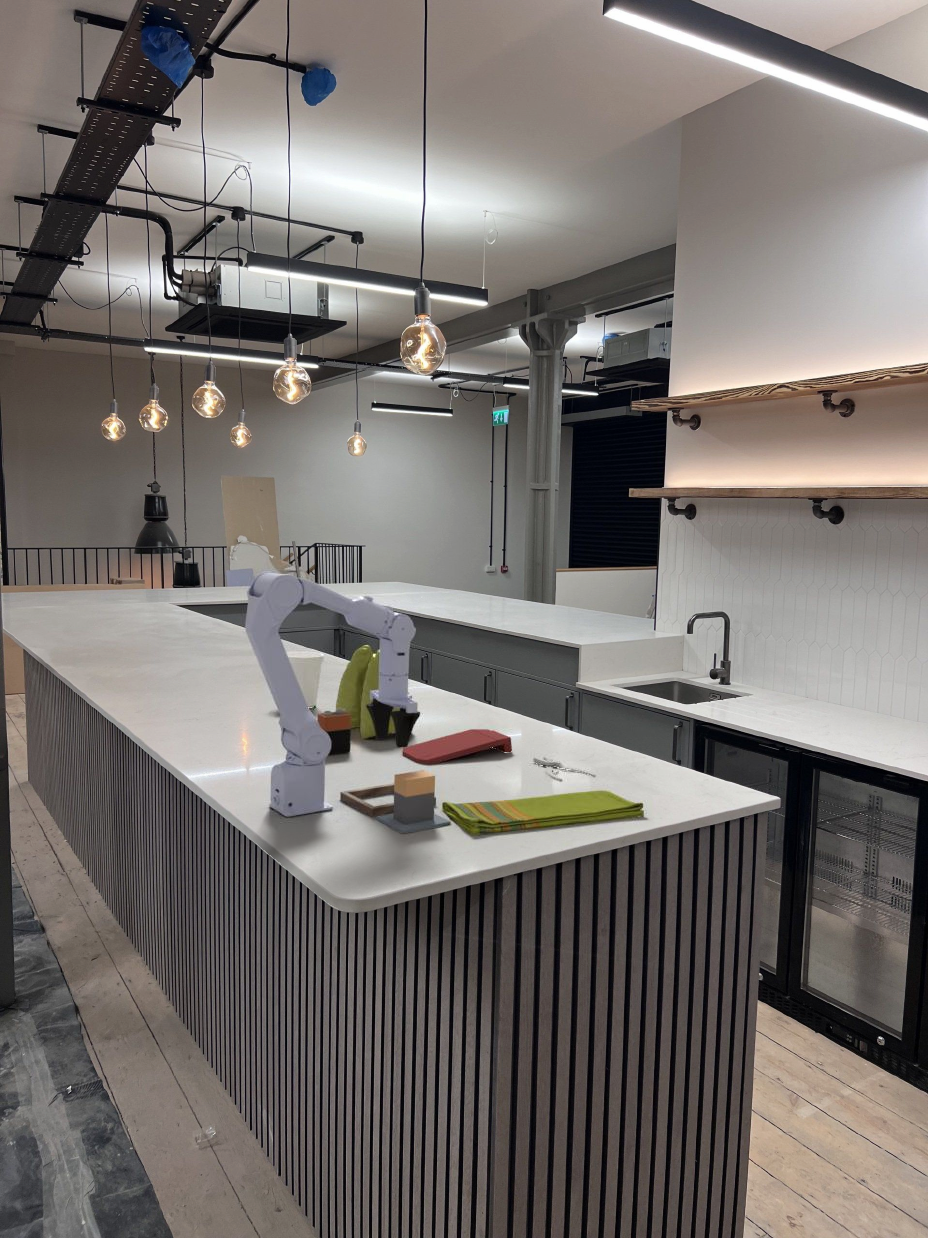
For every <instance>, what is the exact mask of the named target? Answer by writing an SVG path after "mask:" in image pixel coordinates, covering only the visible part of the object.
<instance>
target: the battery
mask: <svg viewBox="0 0 928 1238" xmlns="http://www.w3.org/2000/svg"><path fill="white" fill-rule="evenodd" d="M335 711H337V712H335ZM335 711H332V710H324V712H323V713H322V712H321V713H318V714H317V718H316V719H317V721H318V723H319V725H320V727H321V729H322V730H324V731H325V732H326V733H327V734H328V735H329V737H330V739H331V750H330V752H329V754H328V756H332V755H333V756H334V755H342V754H348V752H349V753H351V739H352V737H351V732H352V730H351V729H352V728H351V715H350V714H348V713H346V712H344V711H345V709H336V708H335Z"/></svg>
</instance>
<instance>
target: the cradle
mask: <svg viewBox="0 0 928 1238" xmlns="http://www.w3.org/2000/svg"><path fill="white" fill-rule="evenodd" d="M339 793H340V798H339V800H340V801H342V802H344V803H346V804H348V805H349V806H351V807H353V808H355V809H357V810H359V811H360V812H362V813H364V814H366V815H367V816H370V817H371V818H373V817H376V816H382V815H387V814H393V813H394V802H393V803H386V804H381V805H376V806H374V805H373V804H370V803H368V802H366V801H364V800H363V799H362V798H369V797H375V796H380V795H385V794H392V793H393V794H394V782H393V783H388V784H382V785H374V786H370V787H364V788H363V787H362V788H356V789H351V790H344V791H340V792H339ZM436 805H437V797H436V796H434V806H436Z"/></svg>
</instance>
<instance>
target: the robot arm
mask: <svg viewBox="0 0 928 1238" xmlns="http://www.w3.org/2000/svg"><path fill="white" fill-rule="evenodd" d="M246 595H247V596H246V597H247V608H246V609H247V610H246V617H245V624H244V625H245V626H244V629H245V633H246V635H247V638H248V640H249V643H250V645H251V649H252V650H253V652H254V654H255V657H256V660H257V661H258V662H257V663H258V664H259V667H260V670H261V672H262V675H263V676H264V679H265V682H266V684H267V686H268V689H269V691H270V694H271V695H272V699H273V701H274V704H275V706H276V708H277V711H278V713H279V716H280V717H279V721H278V724H279V727H280V731H281V733H280V741H281V745H282V747H283V749H284V750H286V754H285V760H284V761H283V762H281V763H276V764H274V765H273V766H272V768H271V772H270V802H269V803H268V806H269V807H270V808H271V809H274V810H275V811H277V812H278V813H280V814H281V815H283V816H285V817H287V818H289V817H293V816H301V815H305V814H312V813H316V812H324V811H328V810H333V809H334V806H333V805H331V804H330V803H328V802H327V801H325V789H326V788H325V786H326V785H325V780H326V778H325V777H326V758H327V757H328V756H329V755H328V754H329V752H330V750H331V739H330V737H329V735H328V734H327V733H326V732H325V731H324V730H322V729H321V727H320V725H319V723H318V721H317V719H318V718H316V716H315V715H314V714H313V713H312V711H311V709H308V706H307V704H306V701H305V699H304V696H303V694H302V691H301V689H300V686H299V684H298V681H297V679H296V676H295V673H294V671H293V668H292V666H291V663H290V661H289V658H288V656H287V653H286V649H285V647H284V643H283V640H282V639H281V635H280V634H279V629H280V628H281V626H282V623H284V620H285V618H287V617H288V615H290V613H292V611H294V610H295V609H296V608H297V606H298V605H308V604H310V603H312V604H315V605H317V606H320V607H322V608H325V609H327V610H330V611H333V612H335V613H338V614H341V615H343V616H344V618H345V621H346V623H347V624H348V625H349V626H351V627H354V628H357V629H358V630H359V629H360V630H362V631H364V632H366V633H368V634H372V635H373V636H376V637H377V638H378V639H379V649H380V654H379V690H373V691H370V700H371V701H373V702H372V703H369V704H366V708H367V709H368V711H369V713H370V715H371V718H372V721H373V725H374V730H375V734H376V736H375V739H376V740H386V739H388V736H389V734H388V731H389V722H390V717H391V716H392V719H393V722H394V726H395V732H394V734H395V744H396V747H397V748H398V749H401V748H402V749H403V748H404V747H407V746H409V742H410V739H411V735H412V732H413V729H414V727H415V725H416V723H417V720H418V719H419V718H420V717H421V712H420V711H418V704H419V703H418V702H417V701H415V700H414V699H413V695H412V694H410V693H409V669H410V668H409V667H410V662H409V661H410V648H411V642H412V640H413V639H414V637H415V635H416V632H417V631H416V630H417V628H416V627H415V626H414V622H413V620H412V619H411V617H410V616H409V615H408V614H404V613H401V612H395V611H394V607H392V606H390V605H386V606H383V605H381V604H379V603H377V602H374V601H373V600H374V598H373V597H372V596H368V595H363V596H360V595H359V596H356V597H354V598H352V599H351V598H349V597H346V596H345V595H342V594H340V593H338V592H336V591H334V590H331V589H330V588H328V587H326V586H323V585H321V584H319V583H317V582H315V581H313V580H309V579H305V578H301V577H297V576H294V575H293V574H287V573H286V574H285V573H283V574H281V573H276V572H274V571H263V572H261V573H259V574H258V575H256V577H255V578H254V579H253V581H252V582H251V584H250V586H249V587H248V589H247V591H246ZM408 693H409V694H408ZM394 707H396V708H399V709H400V711H392V710H393V708H394Z"/></svg>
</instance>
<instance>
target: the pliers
mask: <svg viewBox="0 0 928 1238" xmlns="http://www.w3.org/2000/svg"><path fill="white" fill-rule="evenodd" d="M532 761H533V762H535V763H537V764H539V765H538V766H540V765H544V768H545V767H546V768H547V769H546V768H545V774H546V773H547V774H548V775H549V776H551V777H552V778H551V777H550V778H551V779H553V778H554V779H553V780H555V779H557V780H556V781H558V780H559V782H562V781H563V778H561V777H560V776H557V774H558V773H559V769H556V771H554V768H557V767H559V768H565V769H561V771H562V770H566V769H571V770H568V771H580V772H583V773H582V774H584V773H586V774H585V775H587V774H589V775H588V776H590V775H591V776H590V777H593V778H596V777H595V776H597V775H596V774H594V773H593V772H591V771H588V770H585V769H582V768H577V767H571V766H564V765H563V764H562V763H561V762H560V761H557V760H553V759H552V758H551V757H548V756H543V759H542V758H539V757H536V756H534V757H533V760H532ZM533 762H532V763H533ZM535 763H534V764H535ZM537 764H536V765H537ZM545 765H546V766H545ZM554 766H556V767H554ZM552 767H553V768H552ZM552 771H553V772H552ZM557 772H558V773H557ZM580 772H579V773H580ZM555 773H557V774H555ZM547 774H546V775H547ZM548 775H547V776H548ZM549 776H548V777H549Z"/></svg>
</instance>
